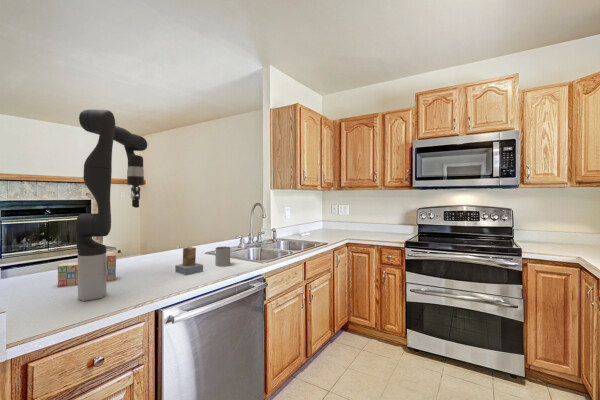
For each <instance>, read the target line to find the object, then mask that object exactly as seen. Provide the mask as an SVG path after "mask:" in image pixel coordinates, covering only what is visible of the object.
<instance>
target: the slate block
mask: <svg viewBox="0 0 600 400" xmlns="http://www.w3.org/2000/svg"><path fill="white" fill-rule="evenodd" d="M174 267H175V269H174V270H175V273H178V274H180V275H183V276H188V275H195V274H198V273H202V272H204V264H201V263H198V262H195V265H192V266H183V263H181V264H176V265H175V266H174Z"/></svg>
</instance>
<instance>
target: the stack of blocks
mask: <svg viewBox="0 0 600 400" xmlns="http://www.w3.org/2000/svg"><path fill="white" fill-rule="evenodd" d="M116 269H117V253H116V252H113V253H107V252H106V283H107V282H115V281H116V277H117V275H116V274H117V270H116ZM70 286H78V261H75V262H74V261H73V262H64V263H63V262H62V263H60V264H58V266H57V287H58V288H59V287H60V288H61V287H70Z"/></svg>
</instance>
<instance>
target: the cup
mask: <svg viewBox="0 0 600 400" xmlns="http://www.w3.org/2000/svg"><path fill="white" fill-rule="evenodd" d="M214 255H215V258H214V260H215V265H214V266H215V267H224V268H225V267H228V266H231V247H230V246H217V247H215V254H214Z"/></svg>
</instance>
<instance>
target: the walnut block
mask: <svg viewBox="0 0 600 400" xmlns="http://www.w3.org/2000/svg"><path fill="white" fill-rule="evenodd" d="M196 251H197V247H192V246H188V247H183V248H182V264H183V266H192V265H195V263H196Z"/></svg>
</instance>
